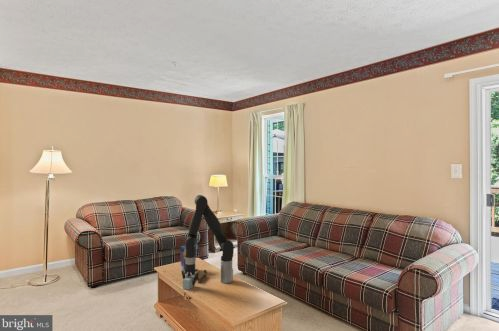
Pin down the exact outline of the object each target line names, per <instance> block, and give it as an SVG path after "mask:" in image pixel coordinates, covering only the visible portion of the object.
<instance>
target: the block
mask: <svg viewBox="0 0 499 331" xmlns="http://www.w3.org/2000/svg"><path fill="white" fill-rule="evenodd" d="M185 277H186V276H185ZM193 287H195V285H193V279H192V277H191V276H188V277H186V278H185V279H183V278H182V289H183V290H187V291H188V290H191V289H192V288H193Z"/></svg>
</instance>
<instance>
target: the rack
mask: <svg viewBox="0 0 499 331" xmlns="http://www.w3.org/2000/svg"><path fill="white" fill-rule="evenodd" d="M195 271H196V272H198V268H195ZM194 275H195V277H196V273H195V274H194ZM206 278H207V269H204V270H203V273H202V274H201V275H199V276H198V279H197V284H201V282H203V281H204V280H205V279H206Z"/></svg>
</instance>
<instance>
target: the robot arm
mask: <svg viewBox="0 0 499 331" xmlns="http://www.w3.org/2000/svg"><path fill="white" fill-rule="evenodd" d="M194 205H195V211H194V214H193V216H192V219H191V221H190V224H189V228H188V234H187V237H186V240H185V246H186V260H185V270H183V271H182V272H181V276H182V280H183V279H185V278H186V277H188V276H191V277H192V279H193V285H194V286H195V285H196V281H198V278H199V276H200V275H199V274H200V271H197V272H196V271H195V269H196V261H195V250H194V249H195V246H196V240H197V236H198V232H199V229H200V225H201V222H202V218H203V219H204V221H205V223H206V225H207V226H208V228H209V230H210V231H211V232H212V235H213V236H214V237H215V239H216V241H217V243H218V245H219V248H220V249H221V250H222V255H221V257H220V283H221V284H231V283H233V281H234V268H233V257H234V251H235V250H234V249H235V248H234V247H235V246H234V243H233V242H232V241H231V240H229V238H227V236H226V234H225V233H224V231H223V230H224V229H223V227H222V224H221V222H220V220H219V218H218V217H217V216H216V214H215V213H214V212H213V210H212V209H211V207H210V206H209V204H208V199H207V197H205V196H204V195H201V194H198V195H196V196H195V198H194ZM195 273H196V277H195V275H194V274H195Z"/></svg>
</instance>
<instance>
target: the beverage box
mask: <svg viewBox="0 0 499 331" xmlns="http://www.w3.org/2000/svg"><path fill="white" fill-rule="evenodd" d="M194 250H195V262H196V259H197V258H196V253H197V252H196V250H197V248H196V245H195V249H194ZM185 260H186V245H182V246H180V272H181V273H182V271H183V270H185Z"/></svg>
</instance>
